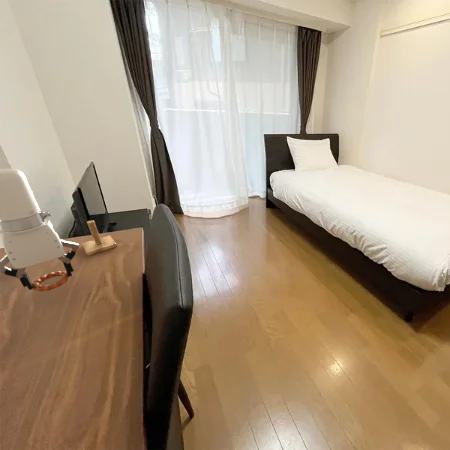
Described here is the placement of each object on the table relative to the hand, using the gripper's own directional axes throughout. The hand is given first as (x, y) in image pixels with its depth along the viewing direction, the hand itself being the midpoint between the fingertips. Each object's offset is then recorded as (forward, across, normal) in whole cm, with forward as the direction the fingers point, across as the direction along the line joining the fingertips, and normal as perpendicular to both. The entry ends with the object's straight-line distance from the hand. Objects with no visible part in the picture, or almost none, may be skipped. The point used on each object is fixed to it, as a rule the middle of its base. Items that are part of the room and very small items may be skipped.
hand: (50, 280), depth 73 cm
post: (+6, -14, -25) cm, 29 cm away
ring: (0, 0, 0) cm, 0 cm away
